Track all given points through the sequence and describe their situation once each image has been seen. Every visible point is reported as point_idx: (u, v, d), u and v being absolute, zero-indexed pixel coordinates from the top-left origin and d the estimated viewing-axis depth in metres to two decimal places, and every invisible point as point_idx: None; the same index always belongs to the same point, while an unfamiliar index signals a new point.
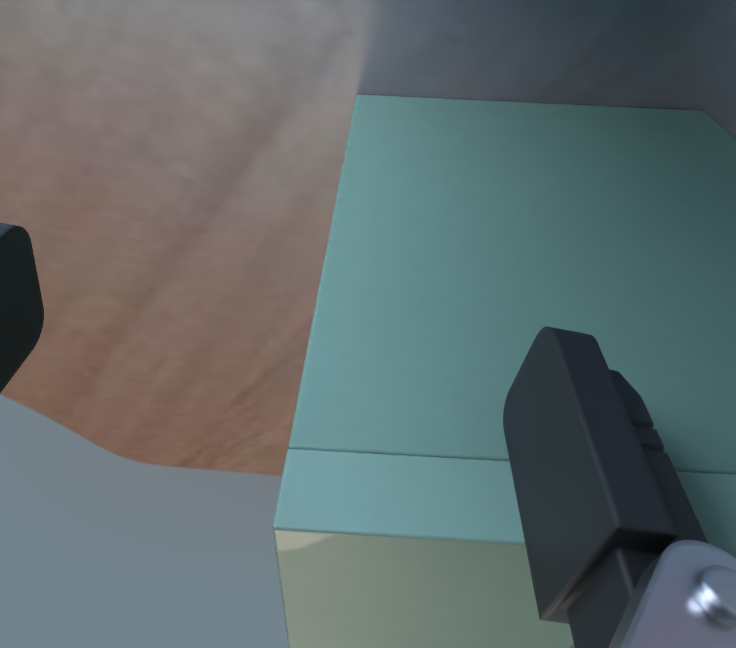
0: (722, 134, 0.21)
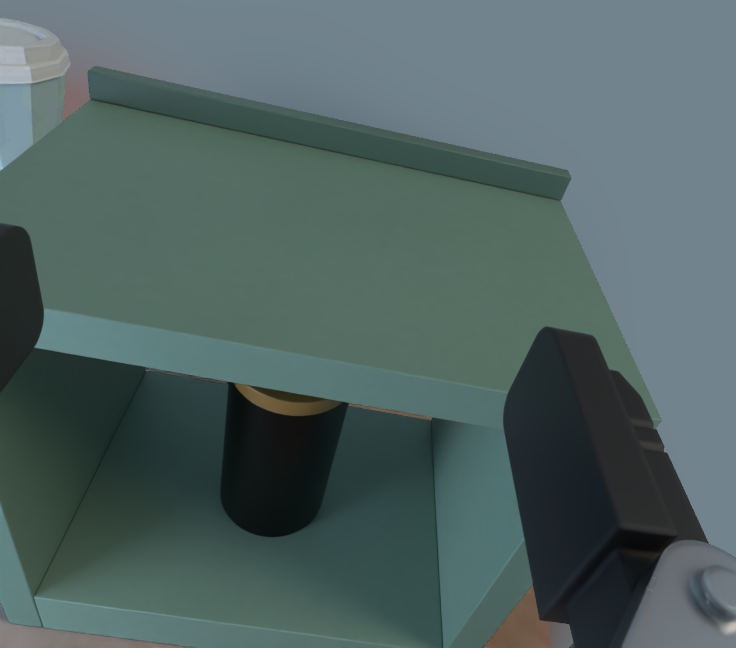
0: None
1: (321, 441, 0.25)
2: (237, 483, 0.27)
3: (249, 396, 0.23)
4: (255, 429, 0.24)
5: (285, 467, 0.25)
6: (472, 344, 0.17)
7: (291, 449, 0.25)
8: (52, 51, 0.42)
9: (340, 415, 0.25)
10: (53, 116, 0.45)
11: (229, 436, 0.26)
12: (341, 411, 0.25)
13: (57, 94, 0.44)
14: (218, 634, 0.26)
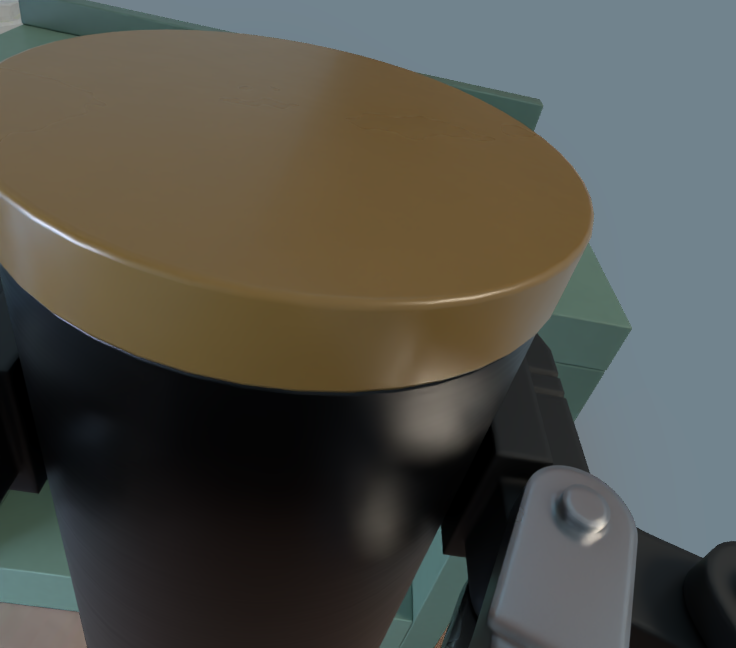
0: None
1: (418, 511, 0.06)
2: (101, 643, 0.08)
3: (35, 276, 0.04)
4: (109, 469, 0.05)
5: (266, 620, 0.06)
6: None
7: (289, 557, 0.05)
8: (11, 11, 0.40)
9: (502, 399, 0.06)
10: None
11: None
12: (511, 380, 0.06)
13: None
14: None
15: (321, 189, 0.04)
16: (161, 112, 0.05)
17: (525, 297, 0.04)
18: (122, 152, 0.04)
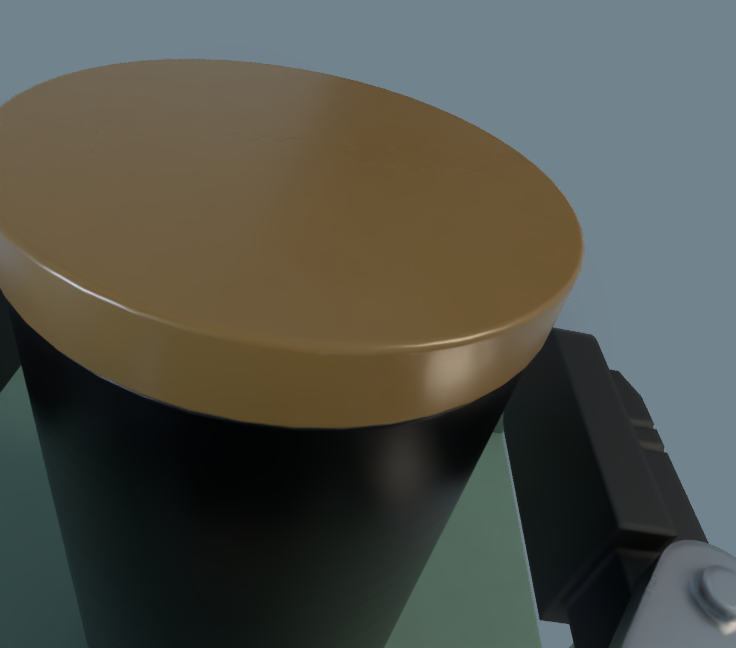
0: None
1: (414, 533, 0.06)
2: None
3: (43, 316, 0.04)
4: (112, 496, 0.05)
5: (265, 639, 0.06)
6: None
7: (288, 581, 0.05)
8: None
9: (496, 424, 0.06)
10: None
11: None
12: (504, 406, 0.06)
13: None
14: None
15: (318, 228, 0.05)
16: (164, 149, 0.05)
17: (515, 335, 0.04)
18: (127, 196, 0.04)
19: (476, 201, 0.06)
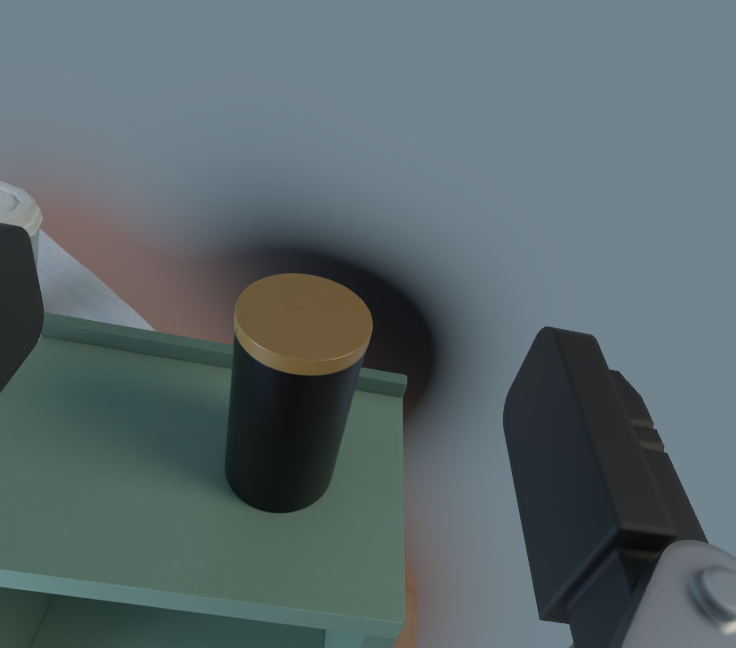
0: None
1: (332, 405, 0.24)
2: (243, 453, 0.26)
3: (256, 354, 0.22)
4: (262, 392, 0.23)
5: (294, 434, 0.24)
6: (285, 566, 0.25)
7: (300, 414, 0.23)
8: (26, 216, 0.51)
9: (352, 378, 0.24)
10: None
11: (234, 402, 0.25)
12: (353, 374, 0.23)
13: None
14: None
15: (307, 335, 0.22)
16: (273, 315, 0.23)
17: (345, 357, 0.22)
18: (269, 330, 0.22)
19: (345, 324, 0.23)
